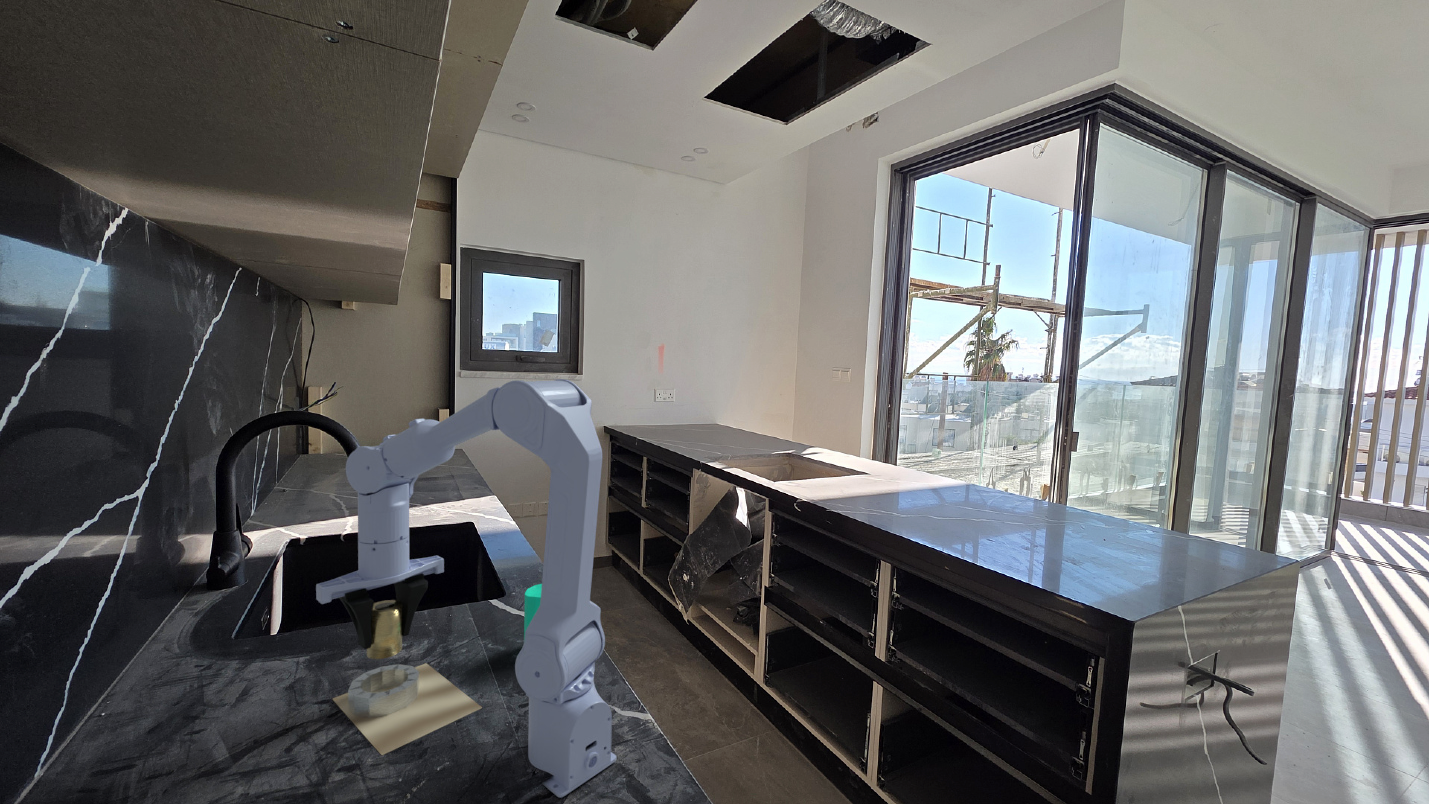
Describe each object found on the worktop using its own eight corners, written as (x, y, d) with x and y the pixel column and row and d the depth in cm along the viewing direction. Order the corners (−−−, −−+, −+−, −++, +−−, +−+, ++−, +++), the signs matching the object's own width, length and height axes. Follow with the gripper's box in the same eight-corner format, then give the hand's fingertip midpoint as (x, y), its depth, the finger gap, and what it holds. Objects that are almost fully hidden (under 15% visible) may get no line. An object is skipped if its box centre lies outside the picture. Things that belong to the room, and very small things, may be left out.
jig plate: (482, 715, 74) (482, 707, 73) (381, 763, 64) (381, 755, 64) (426, 669, 84) (426, 663, 84) (332, 706, 74) (332, 698, 74)
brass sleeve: (407, 650, 74) (407, 605, 74) (374, 662, 71) (374, 615, 71) (394, 640, 77) (394, 597, 76) (361, 651, 74) (361, 606, 73)
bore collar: (428, 697, 75) (428, 679, 75) (363, 725, 69) (363, 706, 69) (403, 675, 80) (403, 658, 80) (340, 700, 74) (340, 681, 74)
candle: (552, 668, 85) (553, 590, 84) (516, 662, 86) (517, 585, 86) (570, 648, 91) (571, 575, 90) (536, 643, 92) (537, 571, 91)
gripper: (427, 520, 81) (427, 612, 82) (307, 542, 70) (308, 649, 71) (451, 530, 77) (451, 628, 78) (327, 556, 66) (328, 670, 66)
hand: (384, 639), depth 74 cm, fingers closed on brass sleeve, 4 cm apart
